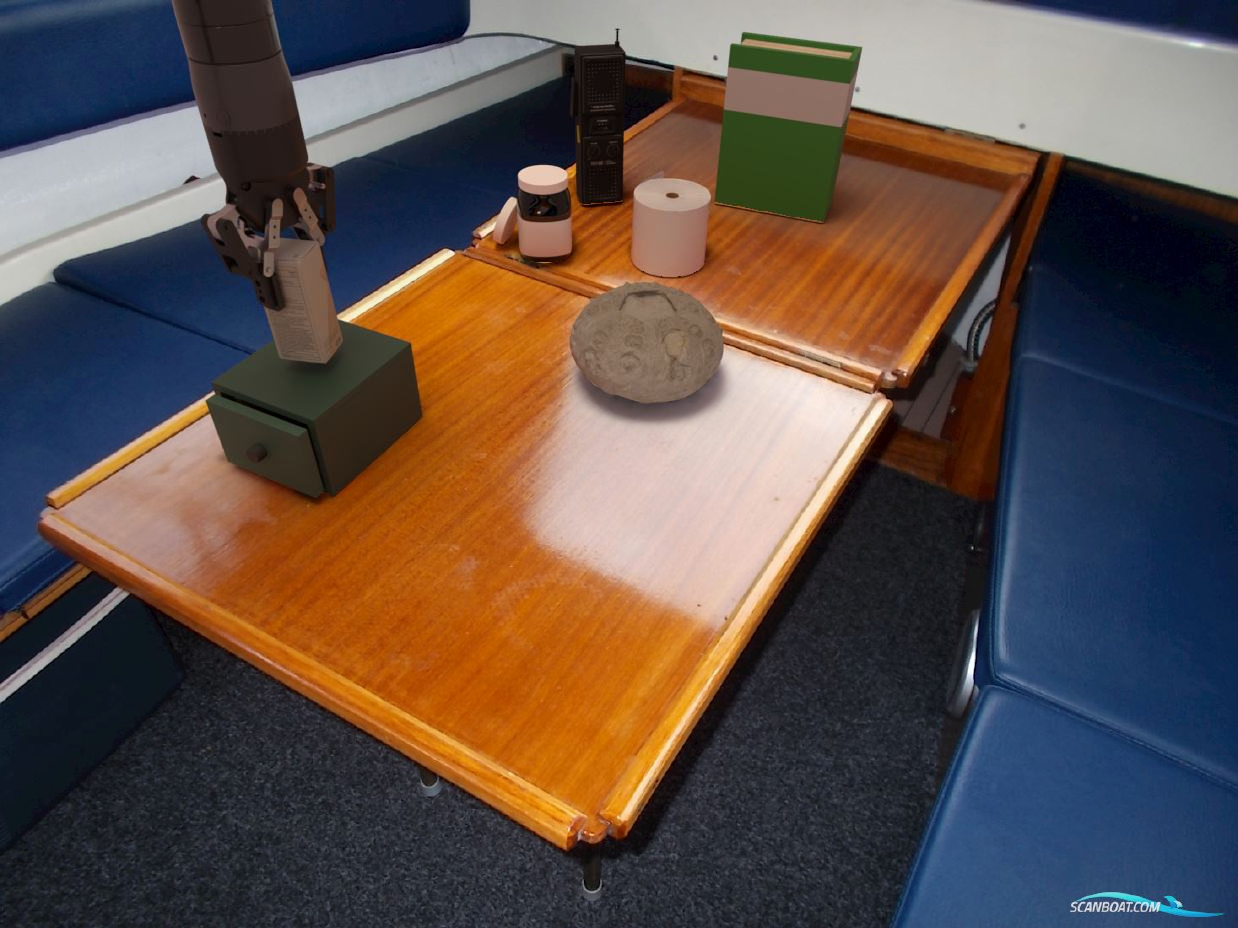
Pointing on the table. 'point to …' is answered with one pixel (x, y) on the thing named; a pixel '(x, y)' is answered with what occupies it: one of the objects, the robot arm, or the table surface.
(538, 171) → the spread jar
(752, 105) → the hardback book
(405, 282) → the table surface
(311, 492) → the drawer
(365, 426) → the cabinet
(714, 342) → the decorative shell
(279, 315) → the box
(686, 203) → the toilet tissue
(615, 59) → the portable radio
